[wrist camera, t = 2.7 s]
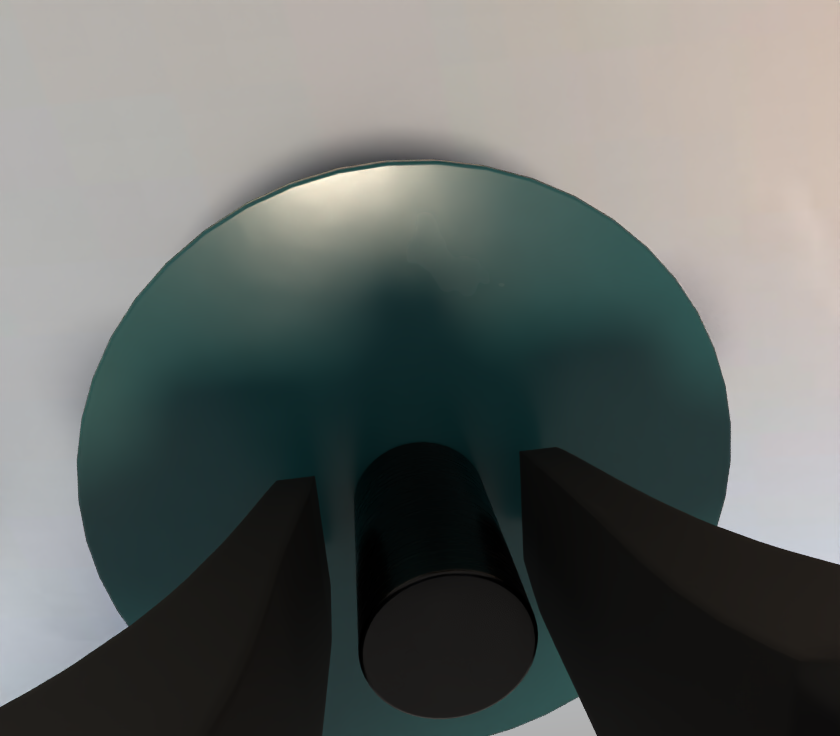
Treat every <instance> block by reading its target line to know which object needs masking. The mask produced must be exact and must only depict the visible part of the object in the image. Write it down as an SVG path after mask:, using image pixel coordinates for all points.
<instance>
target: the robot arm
mask: <svg viewBox="0 0 840 736" xmlns="http://www.w3.org/2000/svg"><path fill="white" fill-rule="evenodd" d="M519 454H520V481H521V509H522V536H523V560H524V563H525V566H526V570H527V573H528V576H529V580H530V583H531V586H532V590H533V593H534V596H535V599H536V602H537V605H538V608H539V611H540V614H541V616H542V618H543V620H544V623H545V625H546V627H547V629H548V631H549V634H550V636H551V638H552V640H553V642H554V645H555V647H556V649H557V651H558V653H559V655H560V657H561V660H562V662H563V664H564V666H565V668H566V670H567V672H568V675H569V677H570V679H571V681H572V683H573V685H574V687H575V689H576V692H577V694H578V696H579V698H580V700H581V702H582V704H583V707H584V709H585V711H586V713H587V715H588V717H589V719H590V721H591V723H592V726H593V728H594V730H595V732H596V734H597V736H840V565H839V564H835V563H831V562H827V561H824V560H820V559H816V558H813V557H809V556H806V555H802V554H798V553H795V552H791V551H787V550H784V549H781V548H778V547H775V546H771V545H768V544H765V543H762V542H759V541H756V540H753V539H751V538H748V537H745V536H742V535H740V534H737V533H734V532H731V531H729V530H726V529H723V528H720V527H718V526H715V525H713V524H710V523H708V522H705V521H703V520H700V519H698V518H696V517H694V516H691V515H689V514H687V513H685V512H683V511H680V510H678V509H676V508H674V507H672V506H669V505H667V504H665V503H663V502H661V501H659V500H657V499H655V498H653V497H651V496H649V495H647V494H645V493H643V492H641V491H639V490H637V489H635V488H633V487H631V486H629V485H627V484H626V483H624V482H622V481H620V480H618V479H616V478H614V477H613V476H611V475H609V474H607V473H605V472H604V471H602V470H600V469H598V468H596V467H595V466H593V465H591V464H589V463H587V462H586V461H584V460H582V459H580V458H578V457H576V456H575V455H573V454H571V453H569V452H567V451H565V450H563V449H560V448H558V447H551V448H543V449H534V450H526V451H519ZM331 645H332V615H331V583H330V576H329V569H328V562H327V556H326V549H325V542H324V535H323V528H322V521H321V514H320V508H319V501H318V494H317V487H316V480H315V476H310V477H302V478H294V479H285V480H277V481H276V482H275V483H274V484H273V485H272V486H271V487H270V488H269V490H268V491H267V492H266V493H265V494H264V495H263V497H262V498H261V499H260V500H259V501H258V502H257V504H256V505H255V506H254V507H253V508H252V510H251V511H250V512H249V513H248V514H247V516H246V517H245V518H244V519H243V520H242V522H241V523H240V524H239V525H238V526H237V527H236V528H235V529H234V531H233V532H232V533H231V534H230V535H229V536H228V537H227V538H226V540H225V541H224V542H223V543H222V544H221V545H220V546H219V547H218V548H217V549H216V550H215V551H214V552H213V553H212V554H211V555H210V556H209V557H208V558H207V559H206V560H205V561H204V562H203V563H202V564H201V565H200V566H199V567H198V568H197V569H196V570H195V571H194V572H193V573H192V574H191V575H190V576H189V577H188V578H187V579H186V580H185V581H184V582H182V583H181V584H180V585H179V586H178V587H177V588H176V589H175V590H174V591H172V592H171V593H170V594H169V595H168V596H167V597H165V598H164V599H163V600H162V601H161V602H159V603H158V604H157V605H156V606H154V607H153V608H152V609H151V610H149V611H148V612H147V613H146V614H144V615H143V616H142V617H141V618H139V619H138V620H137V621H135V622H134V623H133V624H131V625H130V626H129V627H127V628H126V629H125V630H123V631H122V632H120V633H119V634H117V635H116V636H114V637H113V638H111V639H110V640H109V641H107V642H106V643H104V644H103V645H101V646H100V647H98V648H97V649H95V650H94V651H92V652H91V653H89V654H88V655H87V656H85V657H84V658H82V659H81V660H79V661H78V662H76V663H75V664H73V665H72V666H70V667H69V668H67V669H65V670H64V671H62V672H61V673H59V674H57V675H56V676H54V677H52V678H51V679H49V680H47V681H46V682H44V683H42V684H40V685H39V686H37V687H35V688H34V689H32V690H30V691H29V692H27V693H25V694H23V695H21V696H20V697H18V698H16V699H14V700H12V701H11V702H9V703H7V704H5V705H3V706H1V707H0V736H322V732H323V723H324V713H325V704H326V694H327V685H328V675H329V665H330V655H331Z"/></svg>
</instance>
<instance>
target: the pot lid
mask: <svg viewBox="0 0 840 736" xmlns="http://www.w3.org/2000/svg"><path fill="white" fill-rule="evenodd" d="M551 447H558V448H560V449H563V450H565V451H567V452H569V453H571V454H573V455H575V456H576V457H578V458H580V459H582V460H584V461H586V462H587V463H589V464H591V465H593V466H595V467H596V468H598V469H600V470H602V471H604V472H605V473H607V474H609V475H611V476H613V477H614V478H616V479H618V480H620V481H622V482H624V483H626V484H627V485H629V486H631V487H633V488H635V489H637V490H639V491H641V492H643V493H645V494H647V495H649V496H651V497H653V498H655V499H657V500H659V501H661V502H663V503H665V504H667V505H669V506H672V507H674V508H676V509H678V510H680V511H683V512H685V513H687V514H689V515H691V516H694V517H696V518H698V519H700V520H703V521H705V522H708V523H710V524H713V525H715V526H717V525H718V521H719V518H720V514H721V511H722V507H723V504H724V500H725V496H726V489H727V482H728V475H729V468H730V461H731V422H730V415H729V408H728V401H727V394H726V386H725V383H724V379H723V376H722V372H721V369H720V366H719V362H718V359H717V355H716V352H715V349H714V346H713V344H712V342H711V340H710V338H709V335H708V333H707V331H706V329H705V327H704V325H703V322H702V320H701V318H700V316H699V314H698V312H697V310H696V309H695V307H694V306H693V304H692V303H691V301H690V300H689V298H688V297H687V295H686V294H685V292H684V291H683V289H682V288H681V286H680V285H679V283H678V281H677V280H676V278H675V277H674V276H673V275H672V274H671V273H670V272H669V271H668V270H667V268H666V267H665V266H664V265H663V264H662V263H661V262H660V261H659V260H658V258H657V257H656V256H655V255H654V254H653V253H652V252H651V251H650V250H649V248H648V247H647V246H645V245H644V244H643V243H642V242H641V241H639V240H638V239H637V238H636V237H634V236H633V235H632V234H631V233H630V232H628V231H627V230H626V229H625V228H624V227H622V226H621V225H620V224H619V223H617V222H616V221H615V220H614V219H612V218H611V217H609V216H607V215H606V214H604V213H602V212H601V211H599V210H597V209H596V208H594V207H592V206H591V205H589V204H587V203H586V202H584V201H582V200H581V199H579V198H577V197H576V196H574V195H571V194H569V193H566V192H564V191H562V190H559V189H557V188H554V187H552V186H550V185H547V184H545V183H543V182H540V181H538V180H535V179H533V178H530V177H526V176H522V175H518V174H514V173H511V172H507V171H503V170H499V169H495V168H492V167H488V166H484V165H478V164H470V163H461V162H453V161H444V160H436V159H426V160H385V161H379V162H373V163H366V164H360V165H354V166H347V167H341V168H336V169H333V170H330V171H327V172H323V173H320V174H317V175H313V176H310V177H307V178H303V179H300V180H297V181H293V182H291V183H289V184H286V185H284V186H282V187H280V188H278V189H276V190H273V191H271V192H269V193H267V194H265V195H262V196H260V197H258V198H256V199H254V200H252V201H249V202H247V203H246V204H244V205H243V206H241V207H240V208H238V209H237V210H235V211H233V212H232V213H230V214H229V215H227V216H226V217H224V218H222V219H221V220H219V221H218V222H216V223H215V224H213V225H212V226H210V227H208V228H207V229H206V230H204V231H203V232H202V233H201V234H199V235H198V236H197V237H196V238H195V239H194V240H193V241H191V242H190V243H189V244H188V245H187V246H186V247H184V248H183V249H182V250H181V251H180V252H179V253H177V254H176V255H175V256H174V257H173V258H172V259H170V260H169V261H168V262H167V263H166V264H165V265H164V266H163V267H162V269H161V270H160V271H159V272H158V273H157V274H156V276H155V277H154V278H153V279H152V280H151V281H150V282H149V284H148V285H147V286H146V287H145V288H144V289H143V290H142V292H141V293H140V294H139V295H138V296H137V297H136V299H135V300H134V302H133V303H132V305H131V306H130V308H129V309H128V311H127V313H126V314H125V316H124V317H123V319H122V320H121V322H120V324H119V325H118V327H117V328H116V330H115V331H114V333H113V334H112V336H111V338H110V340H109V342H108V345H107V347H106V349H105V351H104V354H103V356H102V358H101V360H100V363H99V365H98V367H97V369H96V371H95V374H94V376H93V379H92V382H91V386H90V390H89V393H88V397H87V401H86V404H85V408H84V412H83V415H82V419H81V428H80V437H79V446H78V454H77V476H78V500H79V506H80V511H81V516H82V521H83V526H84V531H85V536H86V541H87V544H88V547H89V550H90V552H91V555H92V558H93V561H94V564H95V566H96V569H97V572H98V575H99V577H100V579H101V581H102V583H103V585H104V587H105V589H106V591H107V592H108V594H109V596H110V598H111V600H112V602H113V604H114V605H115V607H116V609H117V611H118V612H119V614H120V615H121V617H122V618H123V619H124V621H125V622H126V623H127V625H128V626H130V625H131V624H133V623H134V622H135V621H137V620H138V619H139V618H141V617H142V616H143V615H144V614H146V613H147V612H148V611H149V610H151V609H152V608H153V607H154V606H156V605H157V604H158V603H159V602H161V601H162V600H163V599H164V598H165V597H167V596H168V595H169V594H170V593H171V592H172V591H174V590H175V589H176V588H177V587H178V586H179V585H180V584H181V583H182V582H184V581H185V580H186V579H187V578H188V577H189V576H190V575H191V574H192V573H193V572H194V571H195V570H196V569H197V568H198V567H199V566H200V565H201V564H202V563H203V562H204V561H205V560H206V559H207V558H208V557H209V556H210V555H211V554H212V553H213V552H214V551H215V550H216V549H217V548H218V547H219V546H220V545H221V544H222V543H223V542H224V541H225V540H226V538H227V537H228V536H229V535H230V534H231V533H232V532H233V531H234V529H235V528H236V527H237V526H238V525H239V524H240V523H241V522H242V520H243V519H244V518H245V517H246V516H247V514H248V513H249V512H250V511H251V510H252V508H253V507H254V506H255V505H256V504H257V502H258V501H259V500H260V499H261V498H262V497H263V495H264V494H265V493H266V492H267V491H268V490H269V488H270V487H271V486H272V485H273V484H274V483H275V482H276V481H277V480H285V479H294V478H302V477H310V476H315V480H316V487H317V494H318V501H319V508H320V514H321V521H322V528H323V535H324V542H325V549H326V556H327V562H328V569H329V576H330V583H331V615H332V645H331V655H330V665H329V675H328V685H327V694H326V704H325V713H324V723H323V732H322V736H490V735H494V734H497V733H500V732H503V731H507V730H510V729H513V728H515V727H518V726H520V725H522V724H525V723H527V722H529V721H532V720H534V719H537V718H539V717H542V716H544V715H546V714H548V713H550V712H552V711H554V710H555V709H557V708H559V707H561V706H563V705H565V704H567V703H568V702H570V701H572V700H574V699H576V698H577V697H579V696H578V694H577V692H576V689H575V687H574V685H573V683H572V681H571V679H570V677H569V675H568V672H567V670H566V668H565V666H564V664H563V662H562V660H561V657H560V655H559V653H558V651H557V649H556V647H555V645H554V642H553V640H552V638H551V636H550V634H549V631H548V629H547V627H546V625H545V623H544V620H543V618H542V616H541V614H540V611H539V608H538V605H537V602H536V599H535V596H534V593H533V590H532V586H531V583H530V580H529V576H528V573H527V570H526V566H525V563H524V560H523V536H522V509H521V481H520V454H519V451H526V450H534V449H543V448H551Z"/></svg>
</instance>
